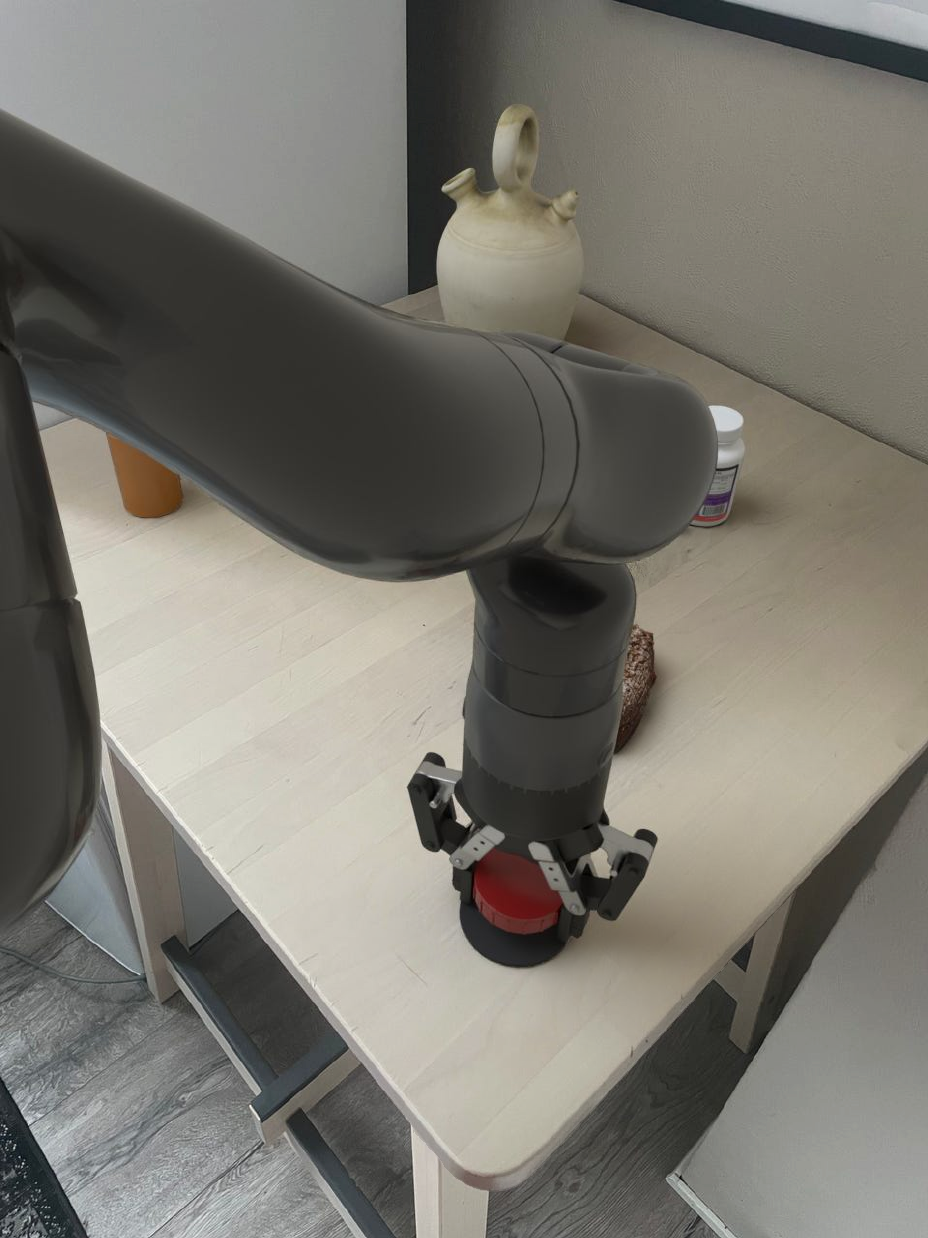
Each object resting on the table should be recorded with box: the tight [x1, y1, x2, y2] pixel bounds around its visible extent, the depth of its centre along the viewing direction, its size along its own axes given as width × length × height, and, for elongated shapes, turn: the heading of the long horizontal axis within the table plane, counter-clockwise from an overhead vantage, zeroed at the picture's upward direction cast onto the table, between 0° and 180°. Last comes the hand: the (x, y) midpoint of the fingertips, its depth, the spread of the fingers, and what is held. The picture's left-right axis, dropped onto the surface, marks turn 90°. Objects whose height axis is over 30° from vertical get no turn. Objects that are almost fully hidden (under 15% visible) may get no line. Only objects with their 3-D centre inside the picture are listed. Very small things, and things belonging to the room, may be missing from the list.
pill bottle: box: [690, 405, 746, 528], centre depth 90 cm, size 5×5×10 cm
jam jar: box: [105, 432, 184, 519], centre depth 88 cm, size 5×5×9 cm
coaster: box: [459, 898, 572, 969], centre depth 62 cm, size 7×7×1 cm
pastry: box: [614, 623, 658, 754], centre depth 74 cm, size 11×12×6 cm
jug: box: [436, 103, 585, 341], centre depth 105 cm, size 15×16×25 cm
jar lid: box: [473, 847, 563, 935], centre depth 60 cm, size 6×6×2 cm
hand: (518, 909), depth 62 cm, fingers closed on jar lid, 5 cm apart
